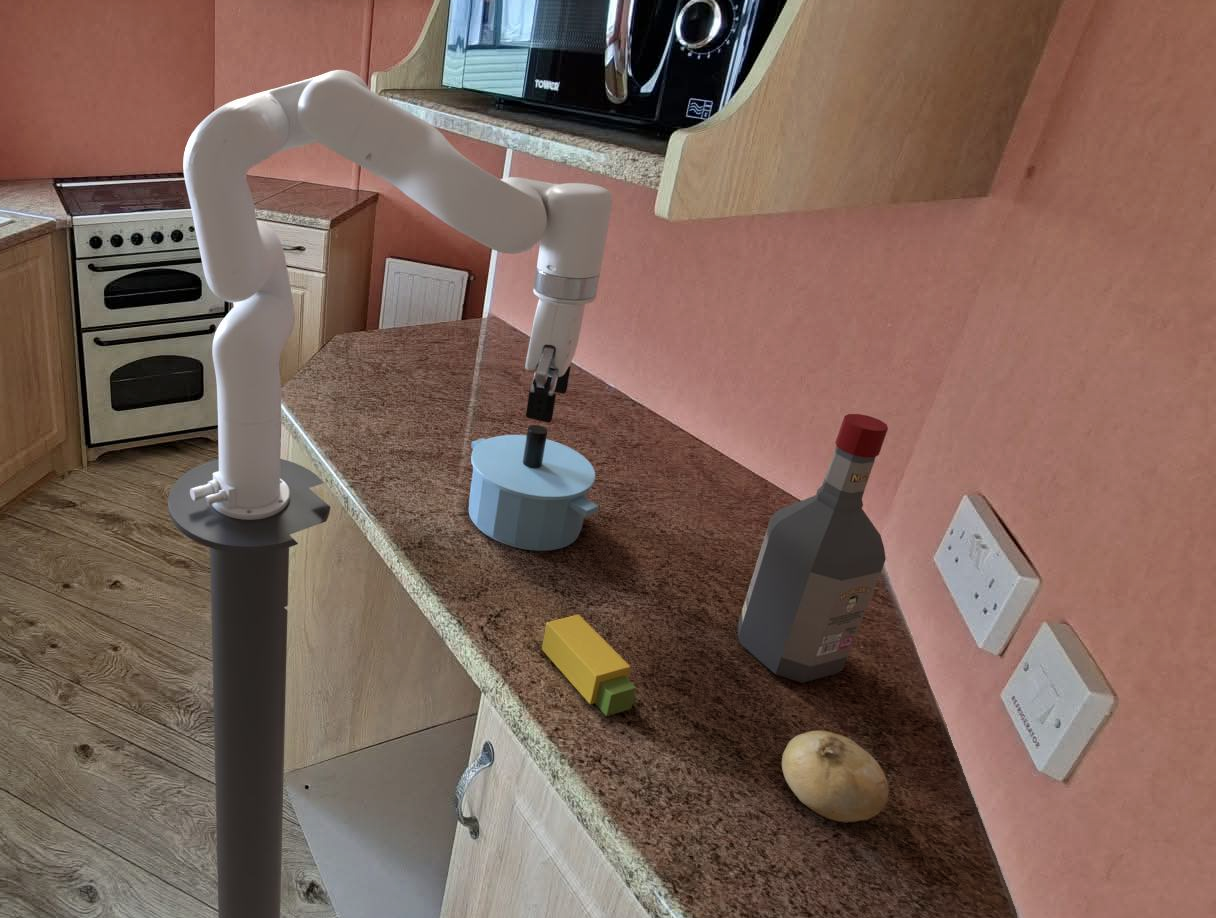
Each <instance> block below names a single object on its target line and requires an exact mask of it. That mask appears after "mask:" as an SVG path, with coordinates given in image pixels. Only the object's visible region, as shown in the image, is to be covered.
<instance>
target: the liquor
mask: <svg viewBox="0 0 1216 918" xmlns="http://www.w3.org/2000/svg"><path fill="white" fill-rule="evenodd" d="M888 430H889V427H888V424H887V423H885V422H884V421H883V420H881V419H879V418H875V417H873V416H870V415H866V414H860V413H848V414H846V415H844V416H843V419H842V422H841V425H840V428H839V430H838V433H837V437H836V439H835V448H834V451H833V454H832V457H831V460H830V463H829V466H828V468H827V472H826V474H825V477H824V479H823V481H822V485H821V486H820V487H819V488H818V489H817V490H816V494H815V495H813V496H810V497H808V498H804V499H802V500H800V501H797V502H794V503H792V504H790V505H788V506H785V507H782V508H780V509H777V511H775V513H773V515H772V516H771V517H770V519H769V521H768V525H767V529H766V530H765V531H766V532H765V535H764V538H763V541H762V544H761V546H760V547H761V548H760V549H759V554H758V558H757V560H756V563H755V567H754V570H753V573H752V577H751V580H750V582H749V586H748V589H747V593H746V596H745V599H744V601H743V606H742V608H741V612H740V615H739V619H738V622H737V638H738V640H739V644H740V645H741V646H742V647H743V648H744V649H745V650H747V651H748V652H749V653H750V654H751V655H752V656H753V657H755V658H756V659H757V660H758V661H759V662H760V663H762V664H763V665H764V666H765V667H766V668H767V669H768V670H769V671H771V672H772V673H773V674H774V675H776V676H778V677H781V678H785V679H788V680H791V681H794V682H797V683H800V684H804V683H807V682H811V681H815V680H818V679H823V678H826V677H830V676H833V675H836V674H838V673H840V672H841V671H843V670H844V669H845V666H846V664H847V661H848V658H849V656H850V653H851V651H852V648H853V645H854V643H855V640H856V637H857V635H858V633H859V630H860V627H861V624H862V622H863V620H864V616H865V614H866V612H867V609H868V606H869V604H870V602H871V600H872V596H873V594H874V592H875V589H876V587H877V583H878V580H879V578H880V575H881V573H882V570H883V568H884V565H885V563H886V560H887V559H886V551H885V545H884V542H883V537H882V535H881V533H880V532H879V531H878V529H877V527H876V526H875V525H874V523H873V522H872V521H871V519H870V518H869V516H868V515H867V514H866V512H865V511H864V509H863V506H864V503H863V498H864V497H863V496H864V493H865V490H866V487H867V484H868V481H869V478H870V477H871V476H870V475H871V473H872V470H873V467H874V464H875V460H876V457H878V456H879V455H880V453H881V451H882V447H883V444H884V441H885V438H886V436H887V433H888Z"/></svg>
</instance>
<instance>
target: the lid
mask: <svg viewBox="0 0 1216 918" xmlns="http://www.w3.org/2000/svg"><path fill="white" fill-rule="evenodd" d="M547 438H548V429H547V428H546V427H545V426H542V425H539V424H531V425H529V426H528V427H527V432H526V434H504V435H497V436H493V437H489V438H487V439H486V438H485V439H486V440H484V441H482V442H480V443H479V444H478V445H476V447H475V448H474V449H473V448H472V451H471V456H470V462H471V465H472V469H473V468H474V469H475V471H476V472H477V474H478V475H479V476H480V477H481V478H483V479H484V480H485V481H487V482H488V483H489V484H491V485H493V486H495V487H497V488H499V489H501V490H503V491H506V492H508V493H511V494H514V495H517V496H521V497H525V498H531V499H537V500H565V499H571V498H575V497H578V496H581V495H583V494H585V493H586V492H587V491H589V492H590V490H591V489H592V488H593V487H594V484H595V480H596V471H595V469H594V466H593V465H592V463H591V462H590V461H589V460H588V459H587V458H586V457H585V456H584V455H583V454H581V453H580V452H578V451H577V450H575V449H573V448H572V447H569V446H567V445H565V444H563V443H560V442H557V441H555V440H552V439H547Z"/></svg>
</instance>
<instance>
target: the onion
mask: <svg viewBox="0 0 1216 918" xmlns="http://www.w3.org/2000/svg"><path fill="white" fill-rule="evenodd" d="M781 768H782V774H783V777H784V780H785V782H786V784H787V785H788V787H789V788H790V790H791V791H792V793H793V794H794V795H795V796H796V797H797V798H798V800H799V801H800V802H801V803H802V804H803V805H805V806H806V807H808V808H809V809H810V810H811V811H813V812H815V813H816V814H818V815H820V816H821V817H824V818H826V819H828V820H831V821H834V822H840V823H846V824H848V822H849V823H858V822H860V821H868V820H870V819H871V818H873V817H875V816H877V815H878V814H879V813H880V812H882V811H883V809H885V806H886V805H887V802H888V799H889V791H890V790H889V789H890V788H889V783H888V779H887V777H886V774H885V772H884V770H883V769H882V767H881V765H880V764H879V763H878V761H877V760H876V759H875V757H873V756H872V755H871V754H870V753H869V752H868V751H867V750H866V749H864V748H863V747H861V746H860V745H859V744H857V743H856V742H855V741H853V739H850V738H848V737H846V736H844V735H841V734H838V733H835V732H831V731H827V730H811V731H805V732H803V733H800V734H798V735H796V736H794V737H793V738H791V739H790V740H789V742H788V743H787V744H786V746H785V749H784V751H783V753H782V758H781Z"/></svg>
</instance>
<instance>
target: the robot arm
mask: <svg viewBox="0 0 1216 918" xmlns="http://www.w3.org/2000/svg"><path fill="white" fill-rule="evenodd" d="M315 143H319V144H320V145H322V146H324V147H325V148H327V149H329V150H331V151H333V152H335V153H336V154H338V155H340V156H341V157H343V158H345V159H347V160H349V161H351V162H352V163H354V164H355V165H358V166H359V167H361V168H363V169H364V170H367V171H368V172H370V173H371V174H373V175H375V176H377V177H379V178H380V179H383V180H384V181H386V182H388V184H391V185H393V187H396V188H397V189H398V190H400V191H401V192H402V193H403V194H404V195H405V196H406V197H408V198H409V199H411V200H412V201H414V202H415V203H417V204H418V205H420V206H421V207H422V208H424V209H425V210H426V211H428V212H429V213H431V214H432V215H433V216H434V217H436V218H437V219H439V220H440V221H442V222H443V223H444V224H446V225H448V226H450V227H451V228H453V229H455V230H456V231H458V232H460V233H461V234H464V235H466V236H467V237H469V238H470V239H472V240H474V241H476V242H477V243H480V244H482V245H483V246H484V247H485V246H486V247H487V248H489V249H491V250H493V251H496V252H499V253H503V254H508V255H509V254H510V255H514V254H516V255H517V254H521V253H524V252H527V251H529V250H531V249H532V248H534V247H535V246H536V245H537V244H538V243H539V250H538V255H537V262H536V270H535V276H534V284H533V290H532V292H533V294H534V295H535V296H537V297H538V301H537V304H536V309H535V313H534V316H533V323H532V328H531V333H530V336H529V337H530V338H529V342H528V349H527V354H526V359H525V365H524V368H525V370H526V371H527V372H531V371H534V374H533V378H532V381H531V385H530V388H529V391H528V397H527V398H528V399H527V405H526V411H525V417H526V418H528V419H530V420H533V421H539V422H544V423H551V422H552V420H553V416H554V409H555V403H556V397H557V394H566V393H567V390H568V385H569V378H570V373H571V367H572V366H570V365H571V363H572V361H573V359H574V357H575V355H576V351H577V347H578V343H579V340H580V335H581V330H582V324H583V318H584V313H585V306H586V304H590V303H592V302H594V301H596V298H597V293H598V287H599V282H600V276H601V271H602V265H603V258H604V255H605V254H604V253H605V247H606V242H607V236H608V232H609V231H608V230H609V225H610V221H611V214H612V210H613V209H612V208H613V195H612V193H611V191H609V189H607V188H605V187H603V186H600V185H596V184H591V183H581V182H566V183H553V182H546V181H540V180H536V179H530V178H526V177H519V176H508V177H504V178H499V177H497V176H495V175H493V174H492V173H490V172H489V171H486V170H485V169H483V168H482V167H480V166H479V165H477V164H476V163H474V162H472V161H471V160H470V159H468V158H467V157H466V156H464V155H463V154H462V153H461V152H460V151H458V150H457V149H456V148H455V147H454V146H453V145H452V144H451V143H450V142H449V140H448V139H447V138H446V137H445V135H443V133H441V131H440V130H438V129H437V128H436V127H435V126H434V125H432V124H431V123H429V122H428V121H426V120H424V119H423V118H420V117H418V116H417V115H415V114H413V113H412V112H411V111H410V112H409V111H408V110H406V109H404V108H402V107H400V106H399V105H397V104H396V103H394V102H391V100H388V99H386V98H384V97H383V96H381V95H379V94H377V93H376V92H374V91H372V90H370V88H369V86H368V85H367V83H366V82H365V80H363V78H362V77H360V76H359V75H358V74H356V73H354V72H353V71H349V70H345V69H335V70H331V71H328V72H325V73H322V74H320V75H317V76H314V77H311V78H308V79H303V80H301V81H297V82H293V83H290V84H285V85H283V86H280V87H276V88H272V89H268V90H264V91H261V92H257V93H254V94H251V95H247V96H244V97H240V98H237V99H234V100H232V101H229V102H227V103H225V104H224V105H221V106H219V107H218V108H216V109H215V110H214V111H212V112H211V113H210V114H208V115H207V116H206V117H205V118H204V119H203V120H202V121H201V122H200V123H199V124H197V126H196V127H195V129H194V130H193V132H192V133H191V135H190V137H188V140H187V143H186V146H185V149H184V153H183V161H182V162H183V163H182V164H183V167H182V169H183V177H184V183H185V187H186V192H187V197H188V200H189V205H190V210H191V214H192V218H193V225H194V229H195V230H194V231H195V235H196V240H197V245H198V249H199V250H198V251H199V254H200V259H201V264H202V270H203V274H204V278H205V281H206V285H207V286H208V288H209V289H210V291H211V292H212V293H213V294H214V296H216V298H218V299H220V300H221V301H224V302H226V303H232V304H233V307H232V308H231V309H230V310H229V311H228V313H226V315H225V317H223V319H222V320H221V321H220V323H219V325H218V326H217V329H216V330H215V333H214V336H213V340H212V348H211V349H212V361H213V367H214V368H213V369H214V373H215V378H216V380H215V381H216V397H217V398H216V399H217V400H216V401H217V438H218V439H217V440H218V441H217V442H218V444H217V445H218V459H219V471H218V472H215V473H213V480H211V481H209V482H208V484H206V485H203V486H198V487H195V488H192V489H190V495H191V498H192V500H193V501H195V500H199V499H202V498H205V501H206V503H207V505H210V504H212V506H213V507H214V508H215V509H216V510H217V511H219V512H220V513H222V514H224V515H226V516H228V517H232V518H235V519H242V520H257V519H263V518H267V517H270V516H273V515H275V514H277V513H279V512H280V511H282V510H283V509H284V508H285V507H286V506H287V504H288V502H289V498H290V491H289V488H288V485H287V484H286V483H285V482H284V481H283V480H282V479H281V478H280V459H281V448H282V447H281V446H282V442H281V441H282V382H281V374H280V359H281V354H282V352H283V350H284V348H285V346H286V344H287V342H288V340H289V339H290V337H291V335H292V333H293V331H294V327H295V322H296V313H295V304H294V298H293V294H292V289H291V288H292V287H291V282H290V275H289V272H288V271H289V270H288V266H287V260H286V254H285V251H284V248H283V244H282V241H281V240H280V238H279V236H278V235H277V233H276V232H275V230H274V229H272V227H270V226H269V225H268V224H266V223H265V222H263V221H261V220H258V219H257V216H256V208H255V201H254V198H253V195H252V192H251V189H250V187H249V184H248V179H247V177H248V172H249V170H250V169H251V168H253V167H255V166H256V165H258V164H261V163H262V162H264V161H266V160H267V159H269V158H271V157H272V156H273V155H275V154H279V153H281V152H284V151H289V150H293V149H296V148H300V147H304V146H309V145H312V144H315Z"/></svg>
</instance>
